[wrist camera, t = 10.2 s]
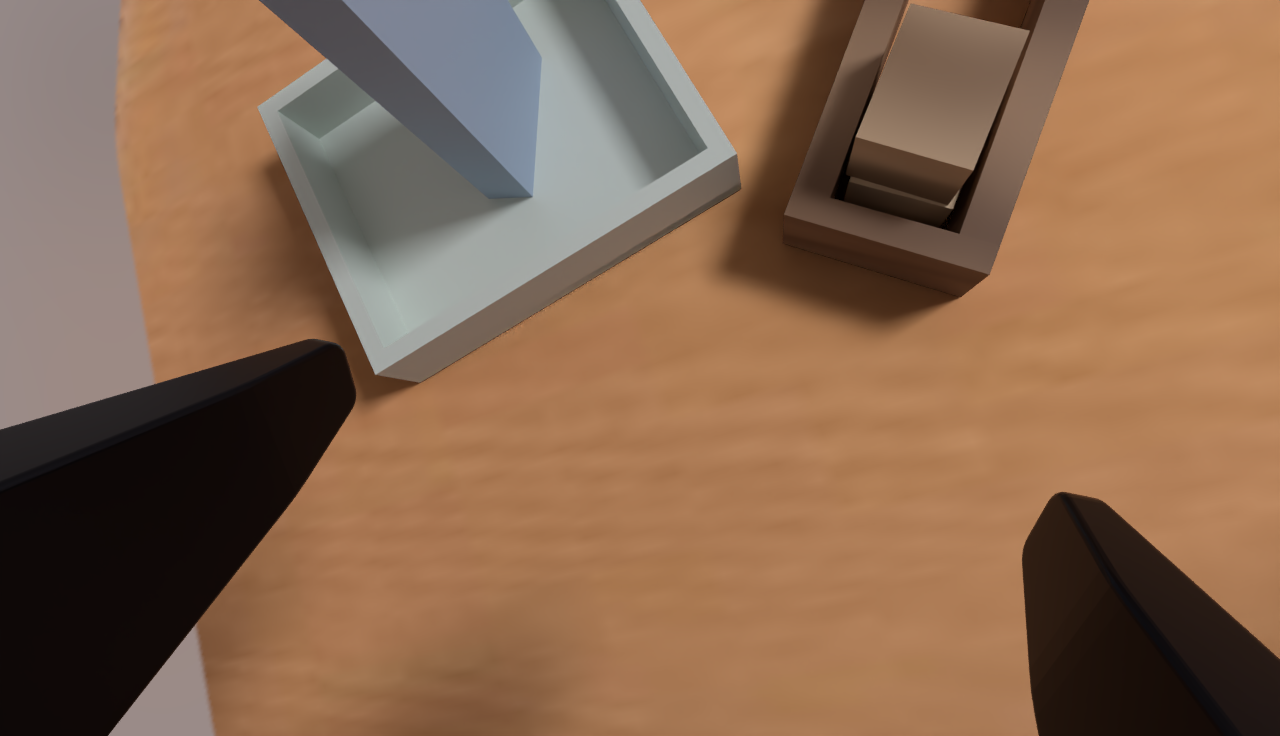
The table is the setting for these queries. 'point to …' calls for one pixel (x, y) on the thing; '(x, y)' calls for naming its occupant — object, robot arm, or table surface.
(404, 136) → the tray
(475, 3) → the pale blue tall block
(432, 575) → the table surface
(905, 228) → the rack
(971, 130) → the offcut
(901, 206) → the offcut
